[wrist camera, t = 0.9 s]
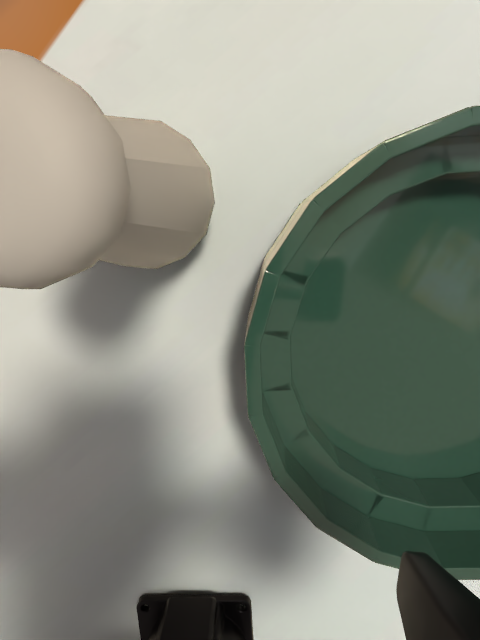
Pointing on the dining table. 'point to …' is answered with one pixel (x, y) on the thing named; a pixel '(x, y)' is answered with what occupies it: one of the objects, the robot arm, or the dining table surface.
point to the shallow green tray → (379, 350)
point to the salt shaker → (89, 182)
